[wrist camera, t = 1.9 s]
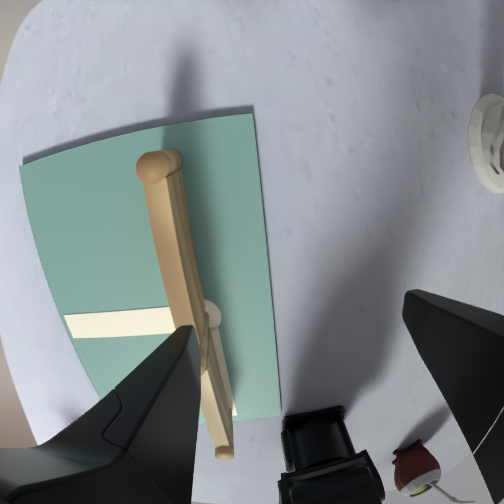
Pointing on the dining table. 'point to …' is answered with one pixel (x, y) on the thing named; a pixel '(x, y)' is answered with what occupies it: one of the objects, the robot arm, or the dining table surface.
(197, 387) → the robot arm
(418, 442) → the mate gourd
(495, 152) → the french press
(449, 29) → the dining table surface
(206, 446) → the dining table surface
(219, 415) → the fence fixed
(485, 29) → the dining table surface
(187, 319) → the fence panel
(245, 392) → the board
